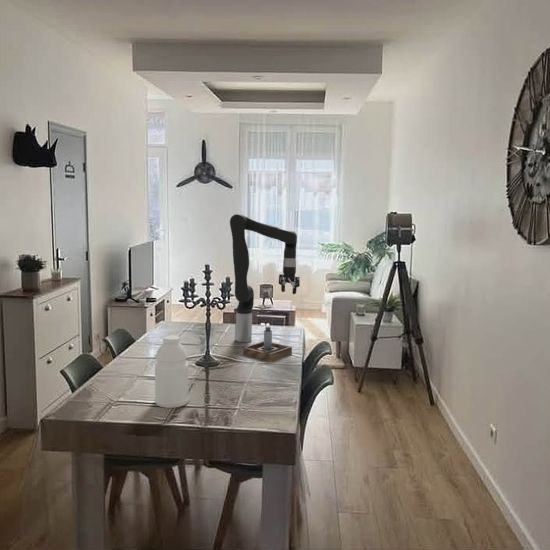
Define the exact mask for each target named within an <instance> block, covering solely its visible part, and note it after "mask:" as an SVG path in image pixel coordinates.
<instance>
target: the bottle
mask: <svg viewBox="0 0 550 550" xmlns="http://www.w3.org/2000/svg"><path fill="white" fill-rule="evenodd" d="M180 341H181V339H180V337H179V336H178V335H172V334H171V335H165V336H164V337H163V338H162V342H163V343H162V344H161V345H160V346H159V347H158V349H157V351H156V353H155V356H154V357H155V358H154V359H156V360H157V361H156V363H154V382H155V383H154V388H155V389H154V395H155V396H154V402H155V405H156V406H158V407H161V408H166V409H172V408H173V409H174V408H179V407H183V406H185V405H186V404H188V402H189V398H190V396H189V365H190V364H189V362H188V361H187V360H186V359H187V358H188V357H189V356H188V352H187V350H186V348H185V346H183V344H182V343H180Z"/></svg>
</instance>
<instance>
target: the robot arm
mask: <svg viewBox="0 0 550 550" xmlns="http://www.w3.org/2000/svg"><path fill="white" fill-rule="evenodd" d="M229 225H230V226H229V227H230V232H231V237H232V259H233V260H232V261H233V262H232V263H233V271H234V296H235V299H236V300H237V301H238V305H237V306H236V315H235V316H236V317H235V318H236V319H235V320H236V324H235V325H234V340H235V341H236V342H239V343H250V342H252V338H253V337H252V335H253V333H252V332H253V308H254V299H255V293H254V289H253V287H252V286H251V285H249V284H248V272H249V267H250V254H249V249H248V245H247V241H246V238H245V235H246V234H245V232H246V231H245V230H247V231H251V232H254V233H257V234H259V235H262V236H264V237H267V238H271V239H274V240H278V241H280V242H283V243H284V250H283V260H282V263H283V264H282V265H283V266H282V273H279V275H278V285H280V288H281V289H280V290H281V292H282V293H285V292H286V284H290V285H291V286H292V295H296V294H297V288H299V287H301V285H300V284H301V283H300V282H301V281H300V276H296V274H297V243H298V242H297V241H298V236H297V235H298V234H297V233H296V232H295V231H293V230H287V229H282V228H281V227H278V226H274V225H272V224H268V223H265V222H261V221H257V220H254V219H252V218H249V217H248V216H245V215H244V214H242V213H236V214H233V215H232V216H231V217H230V220H229Z"/></svg>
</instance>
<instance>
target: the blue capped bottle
mask: <svg viewBox="0 0 550 550" xmlns="http://www.w3.org/2000/svg"><path fill="white" fill-rule="evenodd" d="M271 328H272V327H271V326H265V328H264V329H263V341H264V350H267V351H270V350H272V342H273V330H272V329H271Z"/></svg>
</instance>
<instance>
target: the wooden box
mask: <svg viewBox="0 0 550 550" xmlns="http://www.w3.org/2000/svg"><path fill="white" fill-rule="evenodd" d="M292 347H293V346H290V345H286V344H281V343H277V342H273V341H272V350H270V351H267V350H264V340H263V341H260V342H256V343H253V344H250V345H246V346H244V347H242V349H243V350H242V351H243V352H242V355H245V356H248V357H252V358H256V359H260V360H264V361H268V362H271V361H276V360H278V359H281V358H284V357H286V356H289V355H292V353H293V351H292V350H293V348H292Z"/></svg>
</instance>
